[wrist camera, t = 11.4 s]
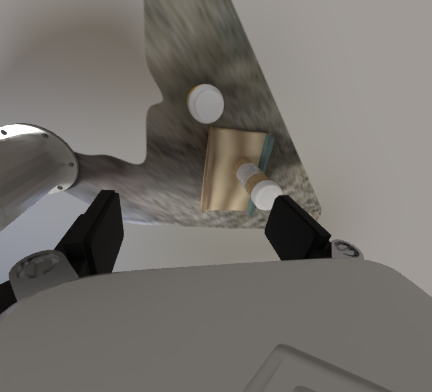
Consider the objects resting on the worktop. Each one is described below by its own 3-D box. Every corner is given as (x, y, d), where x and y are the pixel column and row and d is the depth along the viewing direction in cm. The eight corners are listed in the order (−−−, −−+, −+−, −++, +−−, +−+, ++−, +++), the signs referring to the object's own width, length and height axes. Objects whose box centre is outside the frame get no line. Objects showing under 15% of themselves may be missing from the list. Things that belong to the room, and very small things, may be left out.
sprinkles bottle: (254, 171, 40) (286, 203, 29) (235, 180, 41) (259, 216, 29) (248, 152, 38) (280, 180, 27) (228, 162, 38) (251, 194, 27)
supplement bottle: (217, 88, 33) (232, 87, 25) (213, 120, 36) (225, 129, 27) (187, 81, 32) (192, 79, 24) (184, 115, 34) (188, 124, 26)
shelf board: (200, 205, 44) (202, 216, 41) (209, 126, 36) (213, 130, 32) (247, 206, 47) (253, 216, 44) (265, 133, 39) (275, 137, 35)
